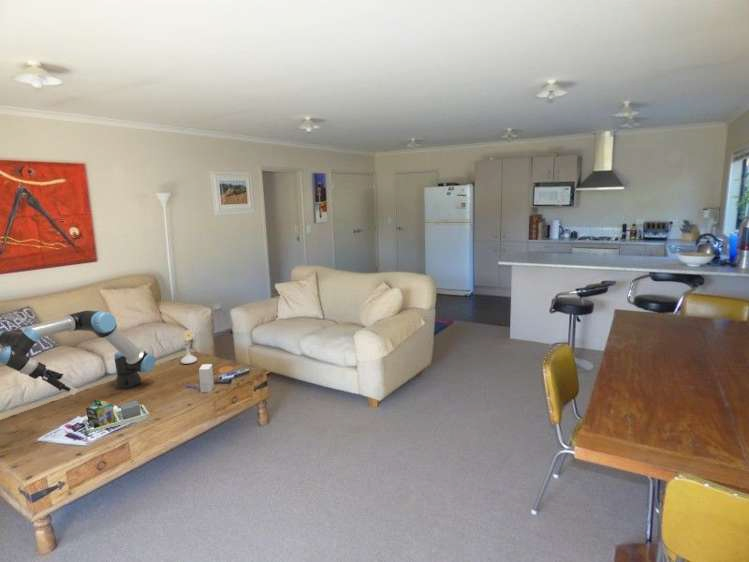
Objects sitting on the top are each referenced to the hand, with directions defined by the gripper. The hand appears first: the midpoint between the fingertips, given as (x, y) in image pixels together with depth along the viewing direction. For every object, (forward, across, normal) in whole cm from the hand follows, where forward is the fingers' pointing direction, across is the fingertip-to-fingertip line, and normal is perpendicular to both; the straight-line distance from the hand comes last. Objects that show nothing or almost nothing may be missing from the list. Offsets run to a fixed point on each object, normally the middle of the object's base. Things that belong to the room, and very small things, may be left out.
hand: (74, 388), depth 236 cm
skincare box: (+65, -6, +30) cm, 72 cm away
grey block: (+32, +4, 0) cm, 33 cm away
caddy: (+28, +4, -5) cm, 29 cm away
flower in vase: (+70, -64, +34) cm, 101 cm away
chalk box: (+22, +4, -10) cm, 25 cm away
